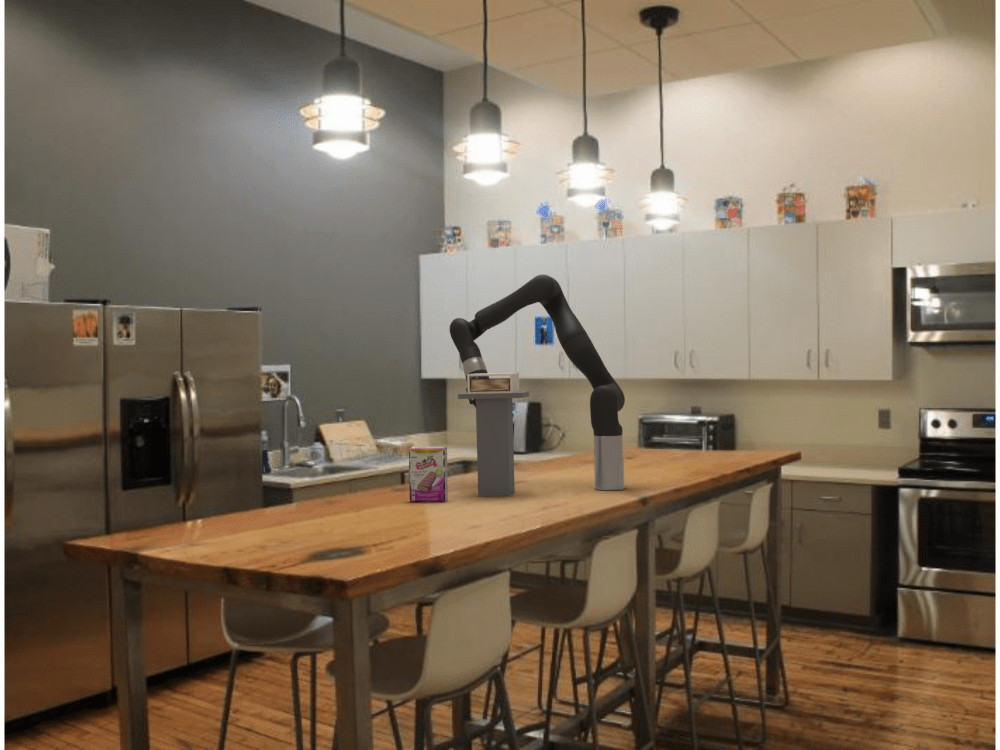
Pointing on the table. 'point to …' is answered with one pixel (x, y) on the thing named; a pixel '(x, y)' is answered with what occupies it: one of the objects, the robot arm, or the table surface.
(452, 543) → the table surface
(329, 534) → the table surface
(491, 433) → the charcoal pedestal
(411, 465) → the candy bar box
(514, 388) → the sleeve
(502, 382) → the mailer tray
